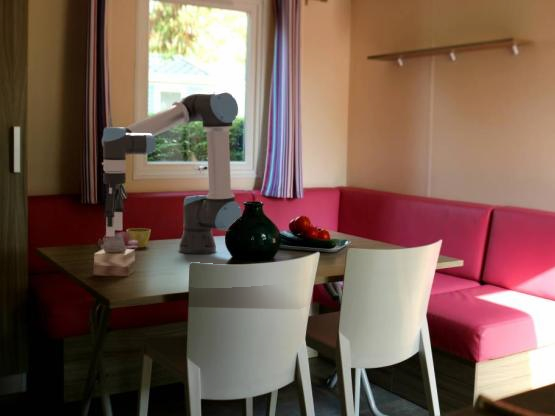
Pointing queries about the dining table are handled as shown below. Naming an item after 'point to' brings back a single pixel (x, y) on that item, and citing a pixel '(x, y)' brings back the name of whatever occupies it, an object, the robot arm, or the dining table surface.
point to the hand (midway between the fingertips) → (114, 233)
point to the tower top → (114, 258)
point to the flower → (126, 240)
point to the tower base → (114, 270)
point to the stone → (114, 244)
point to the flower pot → (139, 236)
